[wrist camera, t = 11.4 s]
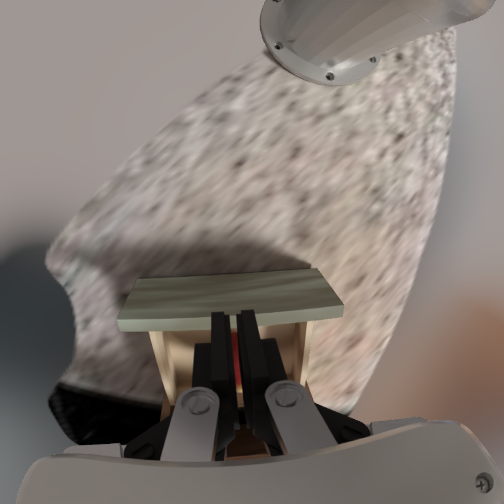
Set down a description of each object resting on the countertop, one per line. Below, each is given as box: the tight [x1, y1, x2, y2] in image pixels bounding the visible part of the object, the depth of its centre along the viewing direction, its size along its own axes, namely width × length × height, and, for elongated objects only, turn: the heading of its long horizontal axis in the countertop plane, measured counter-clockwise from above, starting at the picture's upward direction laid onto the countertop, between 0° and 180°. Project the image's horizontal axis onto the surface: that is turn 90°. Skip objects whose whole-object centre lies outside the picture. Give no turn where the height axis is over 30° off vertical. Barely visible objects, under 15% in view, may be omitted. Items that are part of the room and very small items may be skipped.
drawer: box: [117, 268, 344, 407], centre depth 28 cm, size 15×19×8 cm
